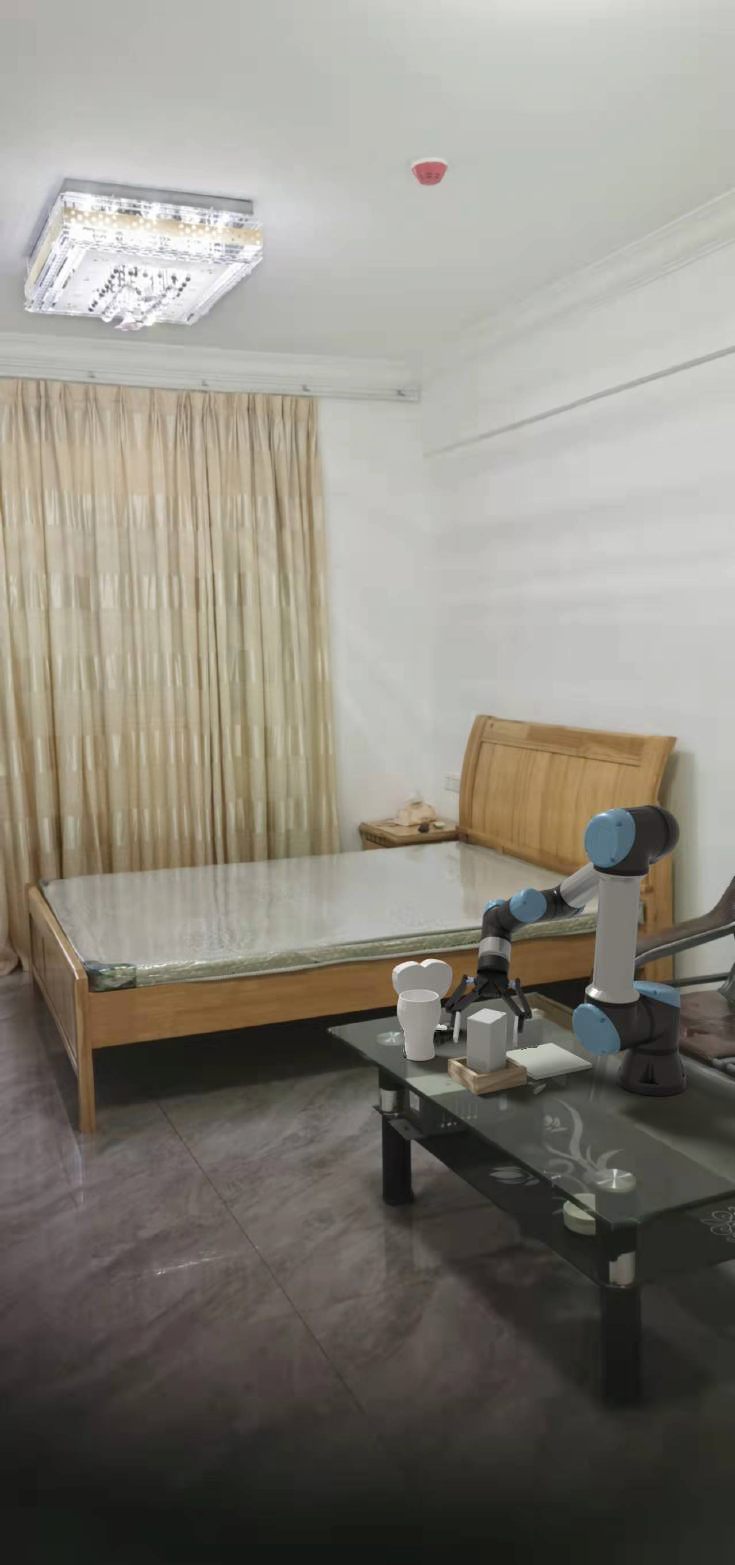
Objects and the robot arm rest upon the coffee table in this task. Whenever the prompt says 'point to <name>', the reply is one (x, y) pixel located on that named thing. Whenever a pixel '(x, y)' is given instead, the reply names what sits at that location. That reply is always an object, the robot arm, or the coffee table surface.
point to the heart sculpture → (423, 978)
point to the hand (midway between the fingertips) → (484, 1042)
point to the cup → (419, 1022)
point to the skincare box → (486, 1041)
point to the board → (548, 1061)
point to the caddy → (487, 1076)
